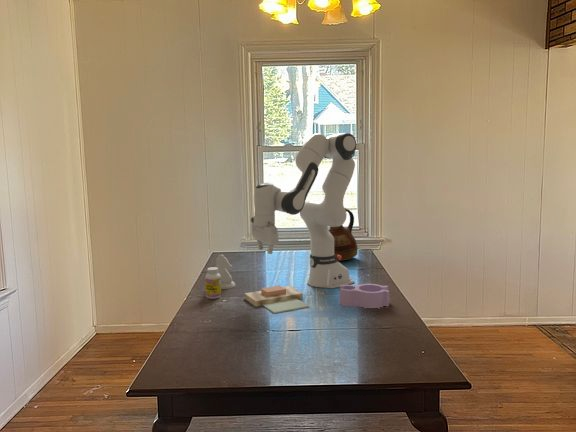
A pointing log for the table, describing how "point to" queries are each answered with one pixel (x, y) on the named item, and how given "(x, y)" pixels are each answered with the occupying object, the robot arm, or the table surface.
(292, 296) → the beige flat block
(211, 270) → the supplement bottle
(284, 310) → the mat
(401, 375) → the table surface
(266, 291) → the tile
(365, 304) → the clip
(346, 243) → the ceramic pitcher
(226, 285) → the chess piece
